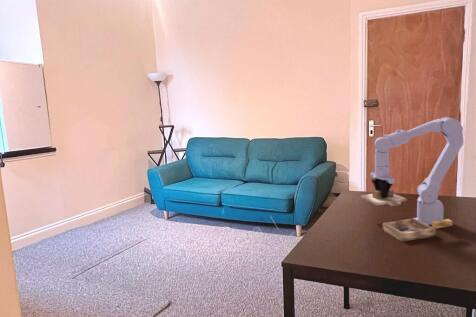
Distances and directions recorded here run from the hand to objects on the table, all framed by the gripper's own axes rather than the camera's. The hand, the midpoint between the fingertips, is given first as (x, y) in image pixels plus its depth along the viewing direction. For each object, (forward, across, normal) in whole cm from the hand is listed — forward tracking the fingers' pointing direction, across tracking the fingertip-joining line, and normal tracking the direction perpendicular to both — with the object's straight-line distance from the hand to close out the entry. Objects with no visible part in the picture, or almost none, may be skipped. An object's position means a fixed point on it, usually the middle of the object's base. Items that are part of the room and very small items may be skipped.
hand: (382, 196), depth 147 cm
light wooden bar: (+6, +24, +8) cm, 26 cm away
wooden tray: (+10, +17, 0) cm, 20 cm away
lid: (+1, +2, 0) cm, 2 cm away
